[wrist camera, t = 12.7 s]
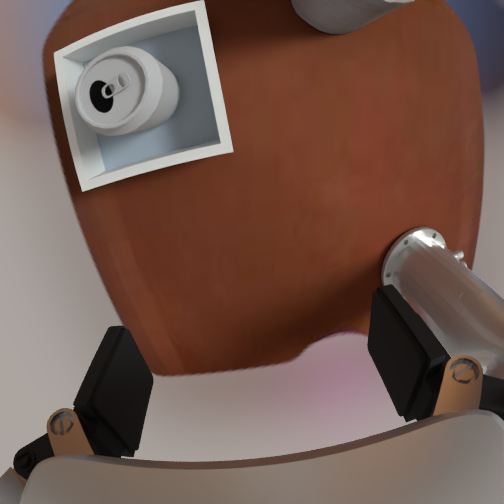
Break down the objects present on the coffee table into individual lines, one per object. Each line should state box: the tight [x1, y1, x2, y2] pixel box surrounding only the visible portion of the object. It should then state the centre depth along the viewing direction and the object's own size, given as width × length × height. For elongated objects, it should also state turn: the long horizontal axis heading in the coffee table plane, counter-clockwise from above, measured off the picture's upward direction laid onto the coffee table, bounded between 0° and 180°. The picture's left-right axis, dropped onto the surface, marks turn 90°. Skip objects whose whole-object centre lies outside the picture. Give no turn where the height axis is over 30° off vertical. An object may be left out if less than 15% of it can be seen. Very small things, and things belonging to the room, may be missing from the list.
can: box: [75, 46, 181, 136], centre depth 22 cm, size 8×8×12 cm
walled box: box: [54, 0, 233, 192], centre depth 25 cm, size 16×16×6 cm
